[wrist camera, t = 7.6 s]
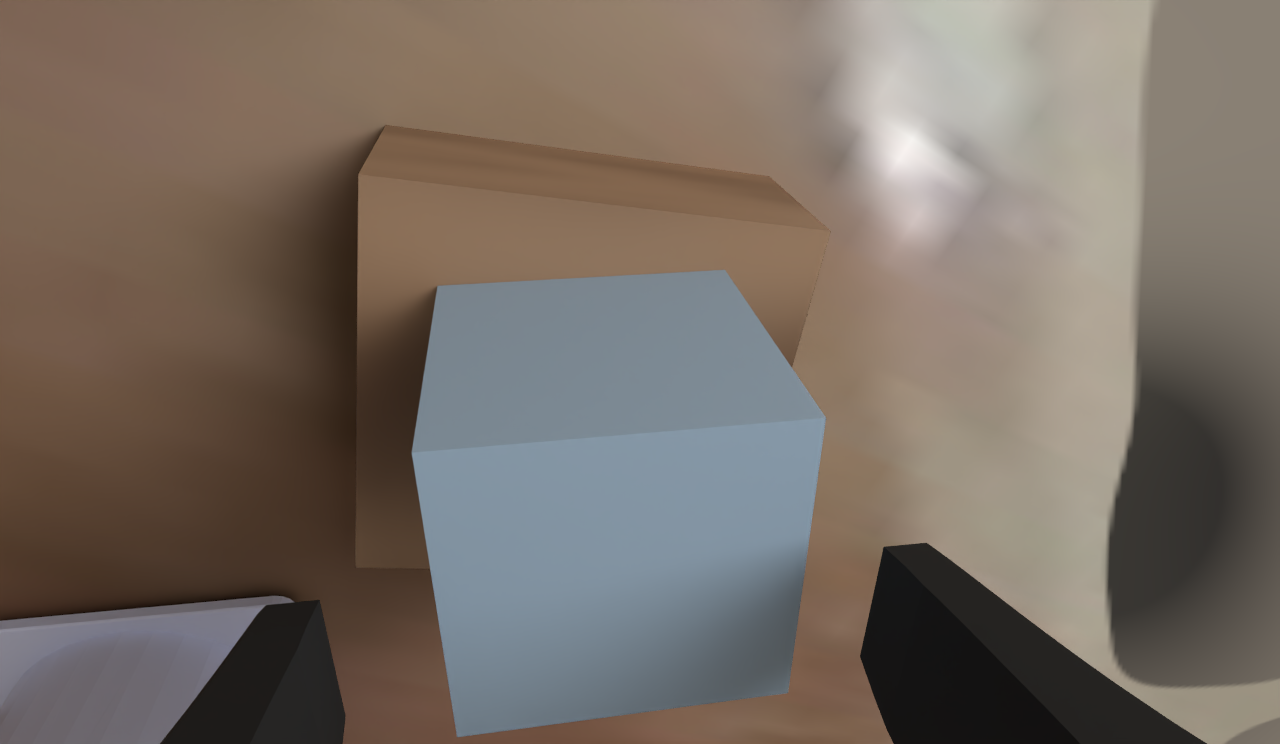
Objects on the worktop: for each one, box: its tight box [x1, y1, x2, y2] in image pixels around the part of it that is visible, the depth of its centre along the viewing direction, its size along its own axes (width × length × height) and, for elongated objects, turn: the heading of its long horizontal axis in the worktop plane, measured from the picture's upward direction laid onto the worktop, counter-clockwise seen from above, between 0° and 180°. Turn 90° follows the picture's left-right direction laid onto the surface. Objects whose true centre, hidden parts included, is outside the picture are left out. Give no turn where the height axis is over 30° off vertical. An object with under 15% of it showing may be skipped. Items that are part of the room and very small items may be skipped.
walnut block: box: [355, 125, 831, 569], centre depth 17 cm, size 8×8×4 cm
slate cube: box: [412, 270, 826, 737], centre depth 13 cm, size 5×5×5 cm
